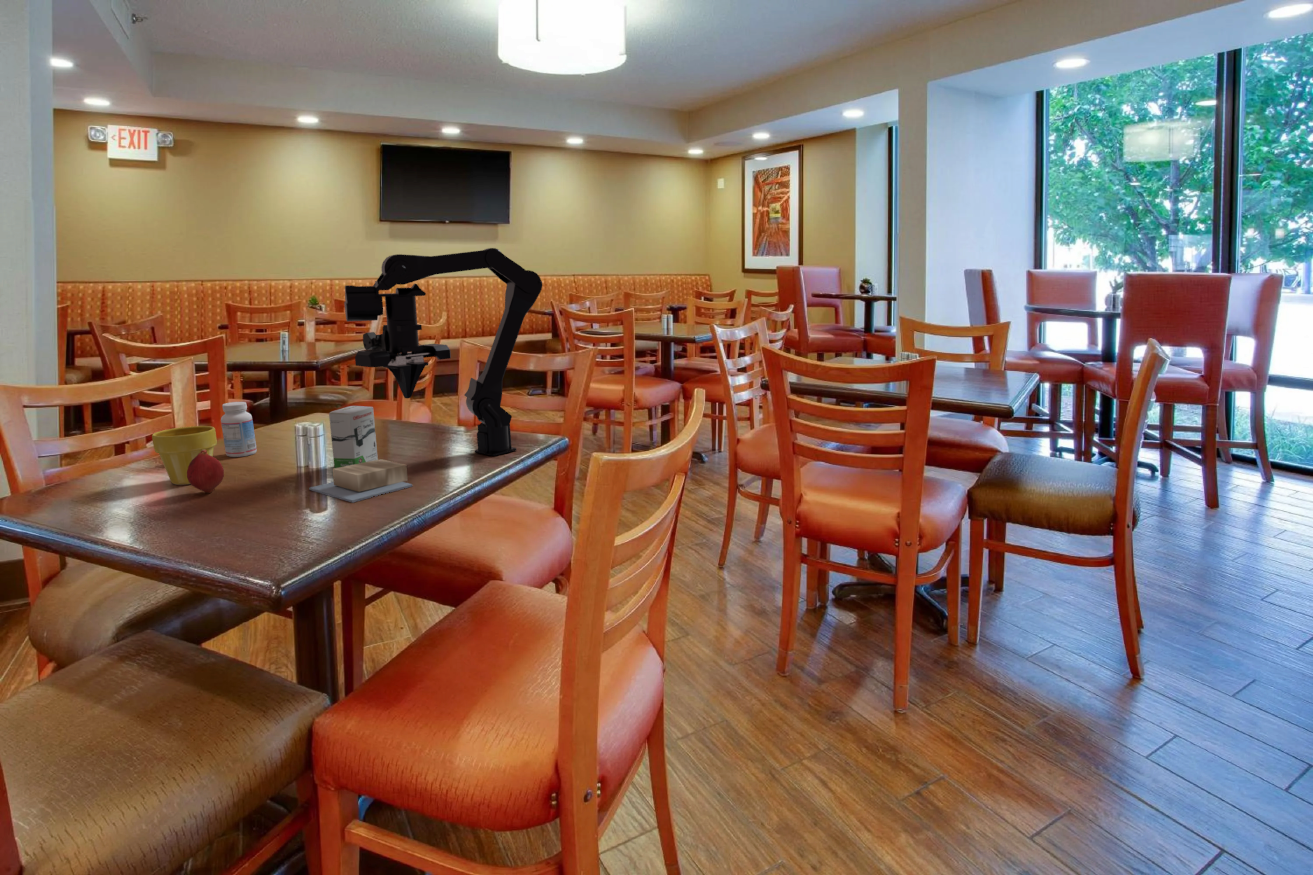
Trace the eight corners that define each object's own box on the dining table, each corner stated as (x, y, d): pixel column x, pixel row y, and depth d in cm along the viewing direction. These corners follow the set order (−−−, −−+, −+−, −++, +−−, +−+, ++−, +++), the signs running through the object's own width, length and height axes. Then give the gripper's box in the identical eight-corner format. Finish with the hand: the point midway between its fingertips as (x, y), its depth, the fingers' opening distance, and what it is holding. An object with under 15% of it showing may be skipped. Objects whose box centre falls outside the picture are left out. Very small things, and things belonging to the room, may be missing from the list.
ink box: (356, 472, 157) (349, 413, 154) (333, 472, 158) (326, 412, 155) (379, 461, 165) (374, 405, 162) (358, 461, 166) (352, 404, 163)
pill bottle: (250, 449, 179) (244, 400, 176) (261, 453, 175) (254, 402, 172) (221, 454, 175) (214, 403, 172) (231, 459, 170) (224, 407, 168)
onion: (189, 499, 141) (182, 455, 140) (190, 491, 146) (184, 448, 145) (226, 494, 144) (220, 450, 142) (226, 486, 149) (220, 444, 147)
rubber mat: (368, 475, 155) (368, 473, 154) (412, 486, 146) (412, 484, 146) (309, 489, 145) (309, 487, 145) (352, 502, 137) (352, 500, 137)
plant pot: (176, 474, 159) (168, 426, 156) (231, 472, 159) (224, 424, 157) (148, 489, 149) (140, 437, 146) (207, 486, 149) (199, 435, 147)
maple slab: (381, 459, 153) (332, 468, 145) (406, 464, 148) (357, 475, 140) (382, 475, 154) (334, 485, 146) (407, 481, 149) (358, 492, 141)
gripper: (416, 315, 170) (421, 388, 174) (335, 321, 156) (342, 400, 159) (450, 317, 164) (454, 393, 167) (369, 323, 149) (376, 406, 152)
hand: (407, 398), depth 162 cm, fingers closed
